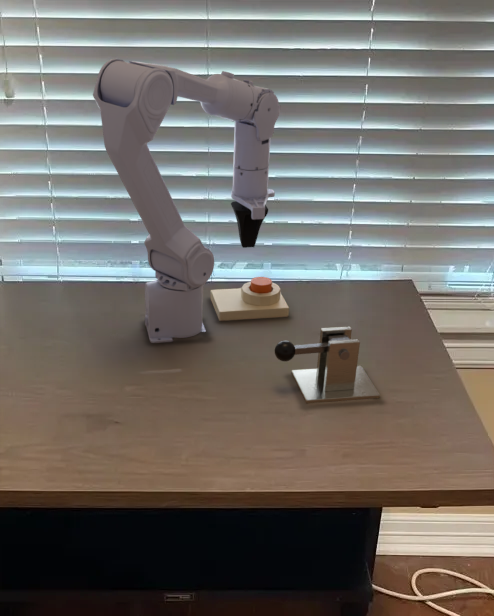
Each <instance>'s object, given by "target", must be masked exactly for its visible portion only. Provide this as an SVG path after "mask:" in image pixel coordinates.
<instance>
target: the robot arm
mask: <svg viewBox="0 0 494 616" xmlns="http://www.w3.org/2000/svg"><path fill="white" fill-rule="evenodd" d="M92 97H93V100H94V101H95V103H96V105H97V107H98V109H99V111H100V117H101V118H100V119H101V127H102V137H103V144H104V148H105V151H106V153H107V155H108V156H109V159H110V161H111V163H112V165H113V167H114V168H115V171H116V172H117V175H118V176H119V179H120V180H121V182H122V184H123V186H124V188H125V190H126V193H127V194H128V196H129V198H130V200H131V202H132V203H133V205H134V208H135V209H136V211H137V213H138V215H139V217H140V219H141V221H142V222H143V225H144V227H145V229H146V231H147V232H148V235H147V236H146V238H145V240H144V242H143V244H144V247H146V251H147V263H148V265H149V267H150V268H151V270H153V271H154V272H155V273H154V276H155V280H152V281H147V282H145V284H144V307H145V308H144V311H145V312H144V313H145V315H144V325H145V328H146V331H147V335H148V339H149V342H150V343H151V344H159V343H173V342H174V340H173V338H176V339H177V338H178V339H179V338H180V339H181V338H183V339H185V338H191V337H194V336H197V335H199V334H200V333H205V332H207V330H206V328H205V324H204V322H203V313H204V312H203V311H204V310H203V306H204V305H203V303H204V286H205V285H206V284H207V282H208V281H209V279H210V278H211V276H212V274H213V272H214V268H215V257H214V254H213V252H212V250H210V249H209V248H207V247H206V246H204V244H203V243H202V240H201V239H200V238H199V236H197V235H196V234H195V233H194V232H192V231H191V230H190V229H189V228H188V227H187V226H186V225H185V222H184V221H183V218H182V217H181V215H180V212H179V210H178V208H177V205H176V204H175V202H174V199H173V198H172V195H171V192H170V191H169V189H168V187H167V184H166V182H165V181H164V178H163V176H162V173H161V172H160V170H159V168H158V165H157V163H156V161H155V158H154V156H153V155H152V153H151V151H150V149H149V146H148V144H149V143H150V142H151V141H153V140H154V139H155V136H156V134H157V132H158V131H159V129H160V127H161V125H162V123H163V121H164V119H165V118H166V115H167V114H168V111H169V109H170V107H171V106H174V105H176V104H177V101H178V98H182V99H188V100H191V101H195V102H199V103H200V106H201V108H202V110H203V111H204V112H205V113H206V114H208V115H209V116H214V117H218V118H222V119H225V120H228V121H230V122H232V123H234V130H233V131H234V137H233V163H232V164H233V167H232V173H233V174H232V189H231V192H230V197H231V199H232V200H234V201H232V202H230V206H231V208H232V210H233V213H234V215H235V219H236V223H237V229H238V230H237V231H238V237H239V241H240V242H239V243H240V245H241V247H242V248H244V249H245V248H255V246H256V244H257V240H258V238H259V237H258V236H259V233H260V230H261V227H262V224H263V222H264V220H265V218H266V217H267V215H268V213H269V208H268V206H267V202H268V200H269V198H275V193H276V192H275V190H274V189H272V188H269V173H270V172H269V171H270V153H271V138H273V136H274V134H275V125H276V122H277V120H278V118H279V116H280V112H281V107H282V106H281V105H280V102H279V98H278V97H277V95H276V94H275V92H274V91H273V90H272V89H270V88H266V87H262V86H257V85H254V81H252V80H250V79H246V78H244V79H243V80H239V79H236V78H235V74H234V73H232V72H228V71H224V70H222V71H221V73H214V74H211V75H210V76H208V78H203V77H200V76H198V75H195V74H192V73H190V72H187V71H184V70H182V69H179V68H176V67H171V66H168V65H163V64H158V63H152V62H144V61H136V60H129V61H128V62H127V61H125V60H123V59H120V58H111V59H109V60H108V61H106V62H105V63H103V65H102V66H101V68H100V70H99V72H98V74H97V78H96V81H95V85H94V89H93V92H92Z"/></svg>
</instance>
